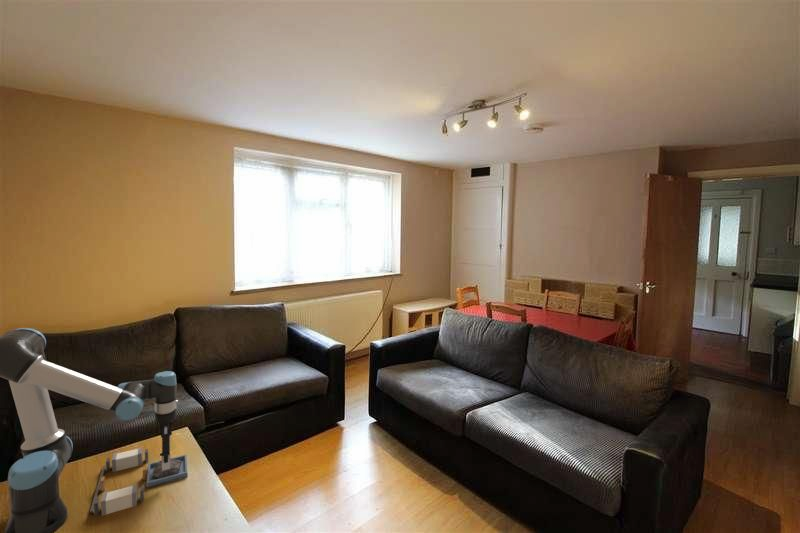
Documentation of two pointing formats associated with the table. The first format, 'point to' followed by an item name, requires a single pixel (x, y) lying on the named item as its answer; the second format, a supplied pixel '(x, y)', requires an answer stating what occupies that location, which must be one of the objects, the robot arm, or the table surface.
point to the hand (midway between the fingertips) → (166, 459)
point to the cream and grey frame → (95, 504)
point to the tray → (157, 481)
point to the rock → (168, 472)
